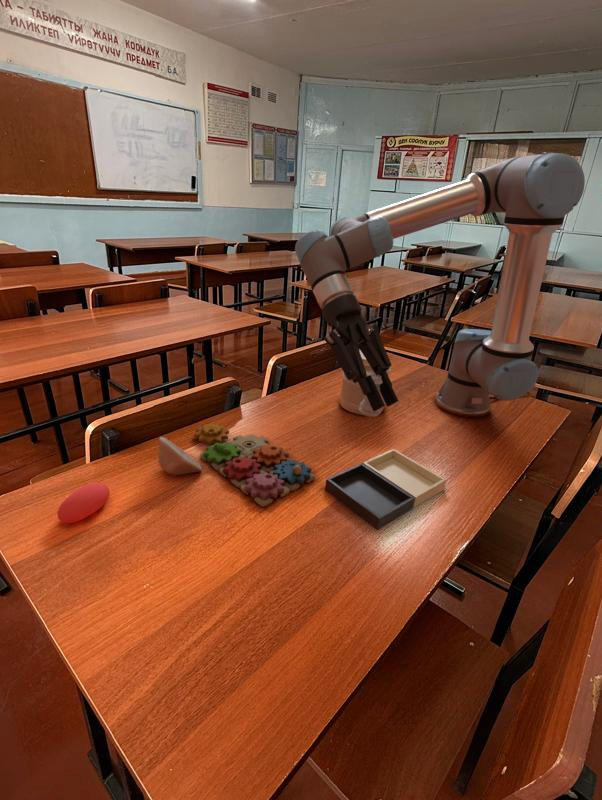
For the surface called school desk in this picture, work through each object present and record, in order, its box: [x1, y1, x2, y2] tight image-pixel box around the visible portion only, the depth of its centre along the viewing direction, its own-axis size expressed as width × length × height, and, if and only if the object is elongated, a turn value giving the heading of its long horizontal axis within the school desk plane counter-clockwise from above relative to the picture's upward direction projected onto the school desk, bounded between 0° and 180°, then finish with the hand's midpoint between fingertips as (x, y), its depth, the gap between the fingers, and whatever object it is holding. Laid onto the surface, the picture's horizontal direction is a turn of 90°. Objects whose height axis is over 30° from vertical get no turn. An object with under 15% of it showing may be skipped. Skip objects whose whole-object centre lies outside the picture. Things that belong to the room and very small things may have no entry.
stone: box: [158, 436, 203, 476], centre depth 88 cm, size 10×7×10 cm
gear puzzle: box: [193, 423, 316, 507], centre depth 94 cm, size 31×16×4 cm, turn 45°
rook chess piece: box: [359, 374, 383, 418], centre depth 87 cm, size 4×4×8 cm
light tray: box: [362, 448, 447, 509], centre depth 92 cm, size 10×14×2 cm
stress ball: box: [56, 481, 111, 524], centre depth 76 cm, size 5×9×6 cm, turn 145°
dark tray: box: [324, 462, 415, 530], centre depth 85 cm, size 10×14×2 cm
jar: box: [339, 349, 392, 416], centre depth 120 cm, size 13×13×18 cm
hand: (386, 406), depth 85 cm, fingers closed on rook chess piece, 3 cm apart
